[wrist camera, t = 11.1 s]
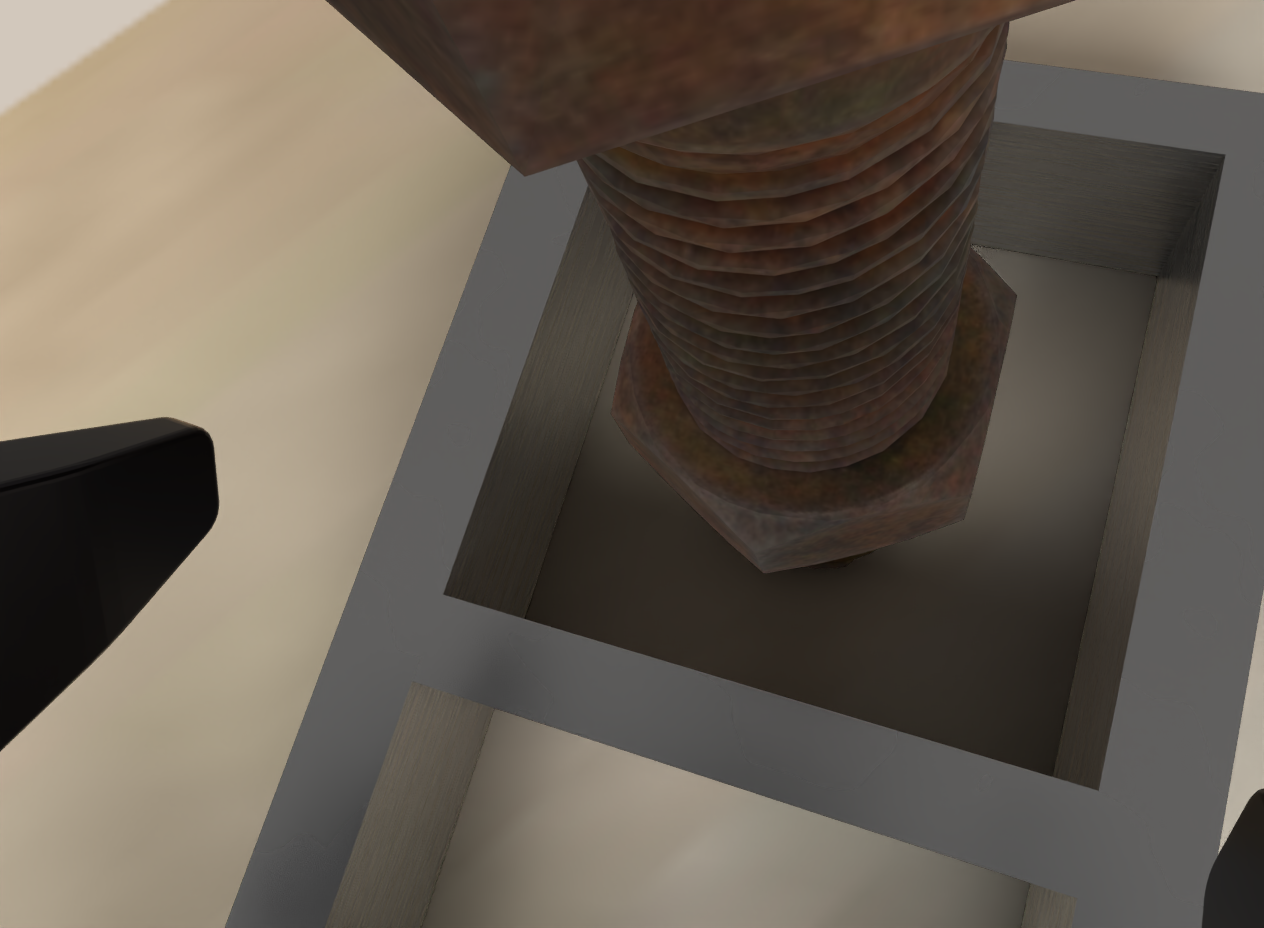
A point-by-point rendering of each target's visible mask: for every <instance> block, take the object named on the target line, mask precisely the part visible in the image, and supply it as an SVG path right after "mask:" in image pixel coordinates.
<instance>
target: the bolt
mask: <svg viewBox="0 0 1264 928" xmlns="http://www.w3.org/2000/svg"><path fill="white" fill-rule="evenodd" d="M326 1H327V2H328V3H329V4H330V5H332V6H333V7H334V8H335V9H336V10H337V11H338V12H339V13H341V14H342V15H343V16H344V17H345V18H346V19H347V20H348V21H350V22H351V23H352V24H353V25H354V26H355V27H356V28H357V29H359V30H360V31H361V32H362V33H363V34H364V35H365V36H366V37H368V38H369V39H370V40H371V41H372V42H373V43H374V44H375V45H377V46H378V47H379V48H380V49H381V50H382V51H383V52H384V53H386V54H387V55H388V56H389V57H390V58H391V59H392V60H394V61H395V62H396V63H397V64H398V65H399V66H400V67H401V68H403V69H404V70H405V71H406V72H407V73H408V74H409V75H410V76H412V77H413V78H414V79H415V80H416V81H417V82H418V83H419V84H421V85H422V86H423V87H424V88H425V89H426V90H427V91H428V92H430V93H431V94H432V95H433V96H434V97H435V98H436V99H437V100H439V101H440V102H441V103H442V104H443V105H444V106H445V107H446V108H448V109H449V110H450V111H451V112H452V113H453V114H454V115H455V116H457V117H458V118H459V119H460V120H461V121H462V122H463V123H464V124H466V125H467V126H468V127H469V128H470V129H471V130H472V131H473V132H475V133H476V134H477V135H478V136H479V137H480V138H481V139H482V140H484V141H485V142H486V143H487V144H488V145H489V146H490V147H491V148H493V149H494V150H495V151H496V152H497V153H498V154H499V155H501V156H502V157H503V158H504V159H505V160H506V161H507V162H508V163H510V164H511V165H512V166H513V167H514V168H515V169H516V170H517V171H519V172H520V173H521V174H522V175H523V176H524V177H526V176H529V175H532V174H535V173H538V172H542V171H545V170H548V169H551V168H554V167H557V166H560V165H563V164H566V163H570V162H573V161H577V162H578V165H579V167H580V169H581V171H582V173H583V176H584V178H585V180H586V182H587V184H588V186H589V188H590V190H591V193H592V195H593V197H594V198H595V199H596V201H597V203H598V205H599V207H600V209H601V212H602V214H603V216H604V218H605V220H606V222H607V224H608V225H609V227H610V230H611V233H612V236H613V238H614V242H615V247H616V251H617V253H618V256H619V258H620V260H621V262H622V264H623V267H624V269H625V271H626V273H627V277H628V280H629V282H630V285H631V287H632V289H633V291H634V293H635V295H636V298H637V301H638V302H637V305H636V308H635V310H634V314H633V317H632V321H631V325H630V329H629V332H628V336H627V340H626V344H625V348H624V351H623V355H622V359H621V363H620V368H619V373H618V378H617V384H616V389H615V394H614V399H613V404H612V409H611V415H612V416H613V418H614V420H615V421H616V423H617V424H618V426H619V428H620V429H621V431H622V432H623V434H624V436H625V437H626V439H627V440H628V442H629V443H630V444H631V446H632V447H633V448H634V449H635V450H636V451H637V452H638V453H639V454H640V455H641V456H642V457H643V458H644V459H645V460H646V461H647V462H648V463H649V464H650V465H651V466H652V467H653V468H654V470H655V471H656V472H657V473H658V474H659V475H660V476H661V477H662V478H663V479H664V480H665V481H666V482H667V483H668V484H669V485H670V486H671V487H672V488H673V489H674V490H675V491H676V492H677V493H678V494H679V495H680V496H681V497H682V498H683V499H684V500H685V501H686V502H687V503H688V504H689V505H690V506H691V507H692V508H693V509H694V510H695V511H696V512H697V513H698V514H699V515H700V516H701V517H702V518H703V519H705V520H706V521H707V522H708V523H709V524H710V525H711V526H712V527H713V528H714V529H715V530H716V531H717V532H718V533H719V534H720V535H721V536H722V537H723V538H724V539H726V540H727V541H728V542H729V543H730V544H731V545H732V546H733V547H734V548H735V549H737V550H738V551H739V552H740V553H741V554H742V555H743V556H744V557H746V558H747V559H748V560H749V561H750V562H751V563H752V564H754V565H755V566H756V567H757V568H758V569H759V570H760V571H762V572H763V573H769V572H775V571H781V570H787V569H792V568H798V567H809V568H814V569H827V568H840V567H845V566H847V565H848V564H849V563H851V562H852V561H853V560H855V559H857V558H859V557H862V556H865V555H867V554H870V553H872V552H873V551H875V550H877V549H878V548H882V547H885V546H888V545H892V544H895V543H898V542H902V541H905V540H908V539H912V538H914V537H917V536H920V535H923V534H925V533H928V532H931V531H934V530H936V529H939V528H942V527H945V526H947V525H950V524H953V523H956V522H958V521H961V520H964V517H965V514H966V511H967V508H968V504H969V501H970V498H971V495H972V491H973V487H974V483H975V479H976V475H977V471H978V467H979V462H980V458H981V454H982V450H983V446H984V442H985V438H986V434H987V429H988V425H989V421H990V416H991V412H992V407H993V403H994V398H995V394H996V390H997V385H998V381H999V376H1000V372H1001V368H1002V364H1003V359H1004V355H1005V351H1006V346H1007V342H1008V338H1009V333H1010V328H1011V323H1012V318H1013V313H1014V308H1015V303H1016V298H1017V294H1016V293H1015V292H1014V291H1013V290H1012V289H1011V288H1010V287H1009V286H1008V285H1007V284H1006V283H1005V282H1004V281H1003V280H1002V279H1001V278H1000V277H999V275H998V274H997V273H996V272H995V271H994V270H993V269H992V268H991V267H990V266H989V265H988V264H987V263H986V262H985V261H984V260H983V259H982V257H981V256H980V255H979V254H977V253H976V252H975V251H974V250H973V249H972V248H971V239H972V234H973V230H974V223H975V217H976V214H977V210H978V194H979V188H980V181H981V173H982V170H983V167H984V163H985V159H986V155H987V151H988V148H989V141H990V132H991V128H992V124H993V120H994V111H995V103H996V99H997V89H998V82H999V78H1000V74H1001V70H1002V65H1003V61H1004V57H1005V53H1006V49H1007V36H1008V31H1009V21H1012V20H1015V19H1018V18H1021V17H1025V16H1028V15H1031V14H1034V13H1037V12H1040V11H1043V10H1046V9H1050V8H1053V7H1056V6H1059V5H1062V4H1065V3H1068V2H1071V1H1074V0H326Z"/></svg>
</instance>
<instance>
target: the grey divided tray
mask: <svg viewBox="0 0 1264 928" xmlns="http://www.w3.org/2000/svg"><path fill="white" fill-rule="evenodd" d="M971 244H975V245H981V246H987V247H992V248H998V249H1004V250H1010V251H1015V252H1021V253H1027V254H1032V255H1038V256H1044V257H1050V258H1055V259H1061V260H1067V261H1072V262H1078V263H1084V264H1090V265H1095V266H1101V267H1107V268H1112V269H1118V270H1124V271H1130V272H1135V273H1141V274H1147V275H1153V276H1158V278H1157V283H1156V287H1155V292H1154V297H1153V302H1152V306H1151V311H1150V316H1149V321H1148V325H1147V330H1146V335H1145V340H1144V345H1143V349H1142V354H1141V359H1140V364H1139V368H1138V373H1137V378H1136V383H1135V387H1134V392H1133V397H1132V402H1131V406H1130V411H1129V416H1128V421H1127V425H1126V430H1125V435H1124V440H1123V444H1122V449H1121V454H1120V459H1119V464H1118V468H1117V473H1116V478H1115V483H1114V487H1113V492H1112V497H1111V502H1110V506H1109V511H1108V516H1107V521H1106V525H1105V530H1104V535H1103V540H1102V544H1101V549H1100V554H1099V559H1098V563H1097V568H1096V573H1095V578H1094V582H1093V587H1092V592H1091V597H1090V602H1089V606H1088V611H1087V616H1086V621H1085V625H1084V630H1083V635H1082V640H1081V644H1080V649H1079V654H1078V659H1077V663H1076V668H1075V673H1074V678H1073V682H1072V687H1071V692H1070V697H1069V701H1068V706H1067V711H1066V716H1065V721H1064V725H1063V730H1062V735H1061V740H1060V744H1059V749H1058V754H1057V759H1056V763H1055V768H1054V773H1053V777H1051V776H1048V775H1044V774H1041V773H1038V772H1034V771H1031V770H1028V769H1024V768H1021V767H1017V766H1014V765H1011V764H1007V763H1004V762H1001V761H997V760H994V759H991V758H987V757H984V756H981V755H977V754H974V753H971V752H967V751H964V750H961V749H957V748H954V747H951V746H947V745H944V744H941V743H937V742H934V741H931V740H927V739H924V738H921V737H917V736H914V735H911V734H907V733H904V732H901V731H897V730H894V729H891V728H887V727H884V726H880V725H877V724H874V723H870V722H867V721H864V720H860V719H857V718H854V717H850V716H847V715H844V714H840V713H837V712H834V711H830V710H827V709H824V708H820V707H817V706H814V705H810V704H807V703H804V702H800V701H797V700H794V699H790V698H787V697H784V696H780V695H777V694H774V693H770V692H767V691H764V690H760V689H757V688H754V687H750V686H747V685H743V684H740V683H737V682H733V681H730V680H727V679H723V678H720V677H717V676H713V675H710V674H707V673H703V672H700V671H697V670H693V669H690V668H687V667H683V666H680V665H677V664H673V663H670V662H667V661H663V660H660V659H657V658H653V657H650V656H647V655H643V654H640V653H637V652H633V651H630V650H627V649H623V648H620V647H617V646H613V645H610V644H606V643H603V642H600V641H596V640H593V639H590V638H586V637H583V636H580V635H576V634H573V633H570V632H566V631H563V630H560V629H556V628H553V627H550V626H546V625H543V624H540V623H536V622H533V621H530V620H526V619H524V618H525V615H526V612H527V609H528V606H529V603H530V600H531V597H532V594H533V591H534V588H535V585H536V582H537V579H538V576H539V573H540V570H541V567H542V564H543V561H544V558H545V555H546V552H547V549H548V546H549V544H550V541H551V538H552V535H553V532H554V529H555V526H556V523H557V520H558V517H559V514H560V511H561V508H562V505H563V502H564V499H565V496H566V493H567V490H568V487H569V484H570V481H571V478H572V475H573V472H574V469H575V466H576V463H577V460H578V457H579V454H580V451H581V448H582V445H583V442H584V439H585V436H586V433H587V430H588V427H589V424H590V421H591V418H592V415H593V412H594V409H595V406H596V403H597V400H598V397H599V394H600V391H601V388H602V385H603V382H604V379H605V376H606V373H607V370H608V367H609V364H610V361H611V358H612V355H613V352H614V349H615V346H616V343H617V340H618V337H619V334H620V331H621V328H622V325H623V322H624V319H625V316H626V313H627V310H628V307H629V304H630V301H631V298H632V295H633V292H634V291H633V289H632V287H631V285H630V282H629V280H628V277H627V273H626V271H625V269H624V267H623V264H622V262H621V260H620V258H619V256H618V253H617V251H616V247H615V242H614V238H613V236H612V233H611V230H610V227H609V225H608V224H607V222H606V220H605V218H604V216H603V214H602V212H601V209H600V207H599V205H598V203H597V201H596V199H595V198H594V197H593V195H592V193H591V190H590V188H589V186H588V184H587V182H586V180H585V178H584V176H583V173H582V171H581V169H580V167H579V165H578V162H577V161H573V162H570V163H566V164H563V165H560V166H557V167H554V168H551V169H548V170H545V171H542V172H538V173H535V174H532V175H529V176H526V177H524V176H523V175H522V174H521V173H520V172H519V171H517V170H516V169H515V168H514V167H513V166H512V165H511V166H510V169H509V172H508V174H507V177H506V180H505V182H504V185H503V188H502V190H501V193H500V195H499V198H498V201H497V203H496V206H495V209H494V211H493V214H492V217H491V219H490V222H489V225H488V227H487V230H486V233H485V235H484V238H483V241H482V243H481V246H480V249H479V251H478V254H477V257H476V259H475V262H474V265H473V267H472V270H471V273H470V275H469V278H468V281H467V283H466V286H465V289H464V291H463V294H462V297H461V299H460V302H459V305H458V307H457V310H456V313H455V315H454V318H453V321H452V323H451V326H450V329H449V331H448V334H447V337H446V339H445V342H444V345H443V347H442V350H441V353H440V355H439V358H438V361H437V363H436V366H435V369H434V371H433V374H432V377H431V379H430V382H429V385H428V387H427V390H426V393H425V395H424V398H423V401H422V403H421V406H420V409H419V411H418V414H417V417H416V419H415V422H414V425H413V427H412V430H411V433H410V435H409V438H408V441H407V443H406V446H405V449H404V451H403V454H402V457H401V459H400V462H399V465H398V467H397V470H396V473H395V475H394V478H393V481H392V483H391V486H390V489H389V491H388V494H387V497H386V499H385V502H384V505H383V507H382V510H381V513H380V515H379V518H378V521H377V523H376V526H375V529H374V531H373V534H372V537H371V539H370V542H369V545H368V547H367V550H366V553H365V555H364V558H363V561H362V563H361V566H360V569H359V571H358V574H357V577H356V579H355V582H354V585H353V587H352V590H351V593H350V595H349V598H348V601H347V603H346V606H345V609H344V611H343V614H342V617H341V619H340V622H339V625H338V627H337V630H336V633H335V635H334V638H333V641H332V643H331V646H330V649H329V651H328V654H327V657H326V659H325V662H324V665H323V667H322V670H321V673H320V675H319V678H318V681H317V683H316V686H315V689H314V691H313V694H312V697H311V699H310V702H309V705H308V707H307V710H306V713H305V715H304V718H303V721H302V723H301V726H300V729H299V731H298V734H297V737H296V739H295V742H294V745H293V747H292V750H291V753H290V755H289V758H288V761H287V763H286V766H285V769H284V771H283V774H282V777H281V779H280V782H279V785H278V787H277V790H276V793H275V795H274V798H273V801H272V803H271V806H270V809H269V811H268V814H267V817H266V819H265V822H264V825H263V827H262V830H261V833H260V835H259V838H258V841H257V843H256V846H255V849H254V851H253V854H252V857H251V859H250V862H249V865H248V867H247V870H246V873H245V875H244V878H243V881H242V883H241V886H240V889H239V891H238V894H237V897H236V899H235V902H234V905H233V907H232V910H231V913H230V915H229V918H228V921H227V923H226V926H225V928H421V926H422V923H423V920H424V917H425V914H426V911H427V908H428V905H429V902H430V899H431V896H432V893H433V890H434V887H435V884H436V881H437V878H438V875H439V872H440V869H441V866H442V863H443V860H444V857H445V854H446V851H447V848H448V845H449V842H450V839H451V836H452V833H453V831H454V828H455V825H456V822H457V819H458V816H459V813H460V810H461V807H462V804H463V801H464V798H465V795H466V792H467V789H468V786H469V783H470V780H471V777H472V774H473V771H474V768H475V765H476V762H477V759H478V756H479V753H480V750H481V747H482V744H483V741H484V738H485V735H486V732H487V729H488V726H489V723H490V720H491V717H492V714H493V711H494V708H496V709H499V710H502V711H505V712H508V713H511V714H514V715H517V716H520V717H523V718H526V719H529V720H532V721H535V722H538V723H541V724H545V725H548V726H551V727H554V728H557V729H560V730H563V731H566V732H569V733H572V734H575V735H578V736H581V737H584V738H587V739H591V740H594V741H597V742H600V743H603V744H606V745H609V746H612V747H615V748H618V749H621V750H624V751H627V752H630V753H633V754H636V755H640V756H643V757H646V758H649V759H652V760H655V761H658V762H661V763H664V764H667V765H670V766H673V767H676V768H679V769H682V770H685V771H689V772H692V773H695V774H698V775H701V776H704V777H707V778H710V779H713V780H716V781H719V782H722V783H725V784H728V785H731V786H734V787H738V788H741V789H744V790H747V791H750V792H753V793H756V794H759V795H762V796H765V797H768V798H771V799H774V800H777V801H780V802H783V803H787V804H790V805H793V806H796V807H799V808H802V809H805V810H808V811H811V812H814V813H817V814H820V815H823V816H826V817H829V818H833V819H836V820H839V821H842V822H845V823H848V824H851V825H854V826H857V827H860V828H863V829H866V830H869V831H872V832H875V833H878V834H882V835H885V836H888V837H891V838H894V839H897V840H900V841H903V842H906V843H909V844H912V845H915V846H918V847H921V848H924V849H927V850H931V851H934V852H937V853H940V854H943V855H946V856H949V857H952V858H955V859H958V860H961V861H964V862H967V863H970V864H973V865H976V866H980V867H983V868H986V869H989V870H992V871H995V872H998V873H1001V874H1004V875H1007V876H1010V877H1013V878H1016V879H1019V880H1022V881H1025V882H1029V883H1030V887H1029V892H1028V897H1027V901H1026V906H1025V911H1024V916H1023V920H1022V925H1021V928H1202V916H1203V904H1204V895H1205V889H1206V884H1207V880H1208V877H1209V874H1210V871H1211V868H1212V866H1213V864H1214V862H1215V860H1216V858H1217V856H1218V850H1219V845H1220V839H1221V833H1222V827H1223V821H1224V815H1225V810H1226V804H1227V798H1228V792H1229V786H1230V781H1231V775H1232V769H1233V763H1234V757H1235V751H1236V746H1237V740H1238V734H1239V728H1240V722H1241V717H1242V711H1243V705H1244V699H1245V693H1246V687H1247V682H1248V676H1249V670H1250V664H1251V658H1252V653H1253V647H1254V641H1255V635H1256V629H1257V623H1258V618H1259V612H1260V606H1261V600H1262V594H1263V589H1264V93H1257V92H1249V91H1241V90H1233V89H1226V88H1218V87H1210V86H1202V85H1195V84H1187V83H1179V82H1171V81H1164V80H1156V79H1148V78H1140V77H1133V76H1125V75H1117V74H1109V73H1101V72H1094V71H1086V70H1078V69H1070V68H1063V67H1055V66H1047V65H1039V64H1032V63H1024V62H1016V61H1008V60H1004V61H1003V65H1002V70H1001V74H1000V78H999V82H998V89H997V99H996V103H995V111H994V120H993V124H992V128H991V132H990V141H989V148H988V151H987V155H986V159H985V163H984V167H983V170H982V173H981V181H980V188H979V194H978V210H977V214H976V217H975V223H974V230H973V234H972V239H971Z"/></svg>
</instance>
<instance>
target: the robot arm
mask: <svg viewBox="0 0 1264 928" xmlns="http://www.w3.org/2000/svg"><path fill="white" fill-rule="evenodd" d="M218 510H219V495H218V484H217V474H216V463H215V452H214V445H213V441H212V439H211V437H210V435H209V433H208V432H207V431H206V430H204V429H203V428H201V427H198V426H196V425H193V424H190V423H187V422H184V421H181V420H178V419H174V418H169V417H161V418H154V419H147V420H141V421H134V422H127V423H121V424H114V425H107V426H101V427H94V428H87V429H80V430H74V431H67V432H60V433H54V434H47V435H40V436H34V437H27V438H20V439H14V440H7V441H0V751H1V750H2V749H4V748H5V747H6V746H7V745H8V744H9V743H10V742H11V741H12V740H13V739H14V738H15V737H16V736H17V735H18V734H19V733H20V732H21V731H22V730H23V729H24V728H25V727H26V726H28V725H29V724H30V723H31V722H32V721H33V720H34V719H35V718H36V717H37V716H38V715H39V714H40V713H41V712H42V711H43V710H44V709H45V708H46V707H47V706H48V705H49V704H51V703H52V702H53V701H54V700H55V699H56V698H57V697H58V696H59V695H60V694H61V693H62V692H63V691H64V690H65V689H66V688H67V687H68V686H69V685H70V684H71V683H72V682H73V681H75V680H76V679H77V678H78V677H79V676H80V675H81V674H82V673H83V672H84V671H85V670H86V669H87V668H88V667H89V666H90V665H91V664H92V663H93V662H94V661H95V660H96V659H97V658H98V657H99V656H100V655H101V654H102V653H103V652H104V651H105V650H106V649H107V648H108V647H109V646H110V645H111V644H112V643H113V642H114V641H115V639H116V638H117V637H118V636H119V635H120V634H121V633H122V632H123V631H124V630H125V628H126V627H127V626H128V625H129V624H130V623H131V622H132V620H133V619H134V618H135V617H136V616H137V615H138V613H139V612H140V611H141V610H142V609H143V608H144V606H145V605H146V604H147V603H148V602H149V601H150V599H151V598H152V597H153V596H154V595H155V594H156V593H157V591H158V590H159V589H160V588H161V587H162V586H163V584H164V583H165V582H166V581H167V580H168V579H169V577H170V576H171V575H172V574H173V573H174V572H175V571H176V569H177V568H178V567H179V566H180V565H181V564H182V562H183V561H184V560H185V559H186V558H187V557H188V555H189V554H190V553H191V552H192V551H193V550H194V548H195V547H196V546H197V545H198V544H199V543H200V542H201V540H202V539H203V538H204V537H205V536H206V535H207V533H208V532H209V531H210V529H211V528H212V526H213V524H214V523H215V521H216V518H217V515H218ZM1202 928H1264V789H1261V790H1258V791H1257V792H1256V793H1255V794H1254V795H1253V796H1252V797H1251V798H1250V799H1249V801H1248V802H1247V804H1246V806H1245V808H1244V810H1243V811H1242V813H1241V815H1240V817H1239V819H1238V820H1237V822H1236V824H1235V826H1234V828H1233V829H1232V831H1231V833H1230V835H1229V837H1228V838H1227V840H1226V842H1225V844H1224V846H1223V847H1222V849H1221V851H1220V853H1219V855H1218V856H1217V858H1216V860H1215V862H1214V864H1213V866H1212V868H1211V871H1210V874H1209V877H1208V880H1207V884H1206V889H1205V895H1204V904H1203V916H1202Z"/></svg>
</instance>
